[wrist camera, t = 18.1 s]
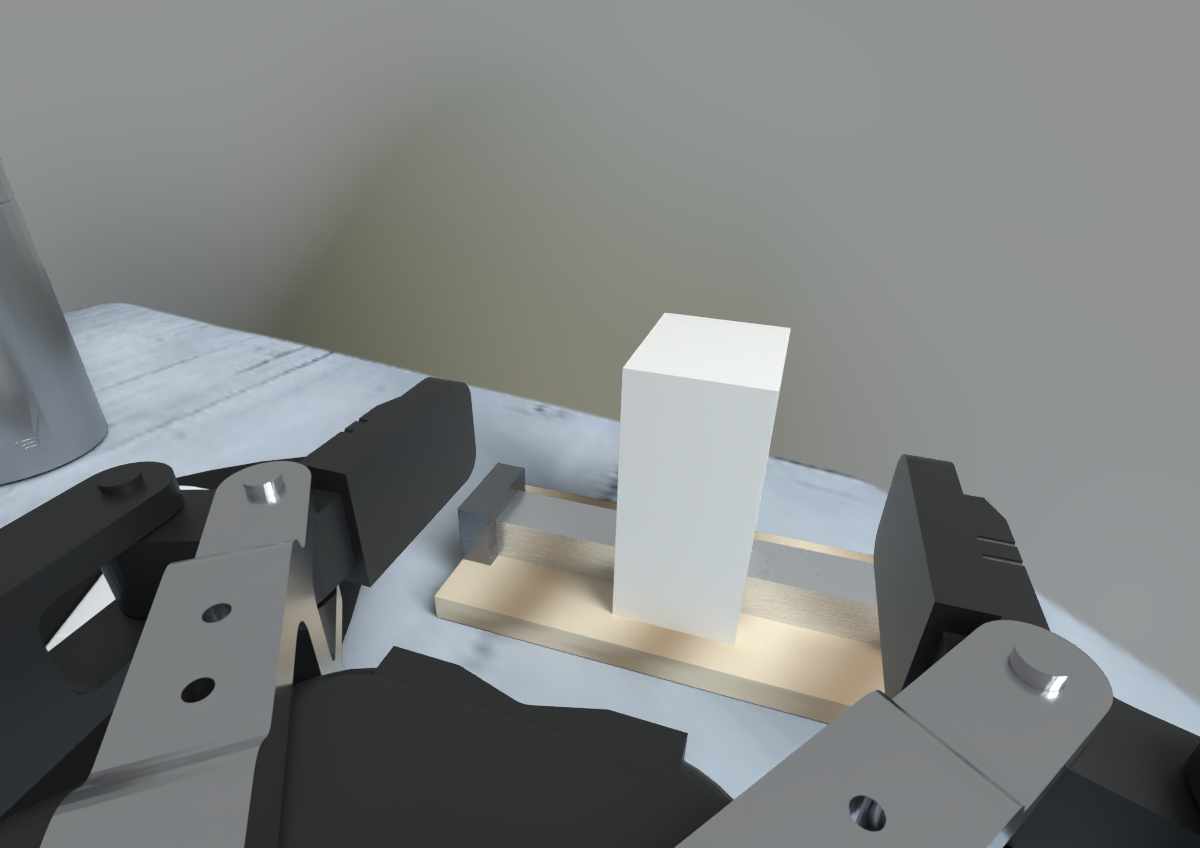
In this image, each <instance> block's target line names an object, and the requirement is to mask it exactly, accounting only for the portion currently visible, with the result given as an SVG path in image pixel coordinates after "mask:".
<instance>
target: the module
mask: <svg viewBox="0 0 1200 848" xmlns="http://www.w3.org/2000/svg"><path fill="white" fill-rule="evenodd" d="M789 334H790V328H784V327H776V326H768V325H760V324H752V323H744V322H735V321H728V320H720V319H711V318H703V317H695V316H687V315H679V314H671V313H664V315H663V316H662V317H661V319H660V320H659V321H658V323H657V324H656V325H655V327H654V328H653V329H652V331H651V332H650V333H649V334H648V336H647V337H646V338H645V340H644V341H643V342H642V344H641V345H640V346H639V347H638V349H637V350H636V352H635V353H634V354H633V355H632V357H631V358H630V359H629V361H628V362H627V363H626V365H625V366H624V367H623V376H622V402H621V423H620V446H619V470H618V493H617V517H616V540H615V564H614V587H613V611H612V614H614V615H618V616H622V617H625V618H629V619H633V620H637V621H641V622H645V623H648V624H652V625H656V626H660V627H664V628H668V629H672V630H675V631H679V632H683V633H687V634H691V635H695V636H698V637H702V638H706V639H710V640H714V641H718V642H721V643H725V644H729V645H733V646H735V641H736V635H737V629H738V624H739V618H740V612H741V607H742V601H743V595H744V589H745V584H746V578H747V572H748V567H749V561H750V556H751V550H752V545H753V539H754V534H755V528H756V523H757V517H758V511H759V506H760V500H761V494H762V489H763V483H764V477H765V471H766V466H767V460H768V454H769V449H770V442H771V437H772V431H773V426H774V420H775V414H776V408H777V403H778V397H779V392H780V386H781V380H782V374H783V369H784V363H785V357H786V351H787V346H788V340H789Z"/></svg>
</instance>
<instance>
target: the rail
mask: <svg viewBox="0 0 1200 848" xmlns="http://www.w3.org/2000/svg"><path fill="white" fill-rule="evenodd" d="M458 517H459V527H460V536H461V546H462V555H463V559H465V560H469V561H473V562H477V563H481V564H485V565H490V566H491V565H492V563H493V562H494V561H495V559H496V558H497V556H498V555H499V556H503V557H507V558H511V559H515V560H520V561H524V562H528V563H532V564H536V565H541V566H545V567H549V568H553V569H558V570H562V571H566V572H570V573H574V574H579V575H583V576H587V577H591V578H595V579H600V580H604V581H608V582H612V583H614V564H615V540H616V517H617V510H612V509H607V508H602V507H597V506H593V505H588V504H583V503H578V502H573V501H568V500H564V499H559V498H554V497H549V496H544V495H539V494H534V493H530V492H525V469H524V468H521V467H516V466H511V465H506V464H501V463H498V464H497V465H496V466H495V467H494V468H493V469H492V470H491V472H490V473H489V474H488V475H487V476H486V477H485V478H484V480H483V481H482V482H481V483H480V484H479V485H478V486H477V488H476V489H475V490H474V491H473V492H472V493H471V494H470V496H469V497H468V498H467V499H466V500H465V501H464V502H463V503H462V505H461V506H460V507H459V508H458ZM740 613H743V614H747V615H751V616H755V617H760V618H764V619H768V620H772V621H776V622H781V623H785V624H789V625H793V626H798V627H802V628H806V629H810V630H814V631H819V632H823V633H827V634H831V635H835V636H840V637H844V638H848V639H852V640H856V641H861V642H865V643H869V644H873V645H878V646H881V643H880V632H879V620H878V609H877V597H876V586H875V574H874V563H869V562H864V561H859V560H854V559H850V558H845V557H840V556H835V555H830V554H825V553H820V552H816V551H811V550H806V549H801V548H796V547H791V546H787V545H782V544H777V543H772V542H767V541H762V540H757V539H753V545H752V550H751V556H750V561H749V567H748V572H747V578H746V584H745V589H744V595H743V601H742V607H741V612H740Z"/></svg>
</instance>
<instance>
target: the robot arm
mask: <svg viewBox="0 0 1200 848" xmlns="http://www.w3.org/2000/svg"><path fill="white" fill-rule="evenodd" d="M107 429H108V425H107V423H106V420H105V418H104V415H103V413H102V410H101V408H100V405H99V403H98V400H97V398H96V395H95V393H94V390H93V388H92V385H91V383H90V380H89V378H88V375H87V373H86V370H85V367H84V365H83V362H82V360H81V357H80V355H79V352H78V350H77V347H76V345H75V342H74V340H73V337H72V335H71V332H70V330H69V327H68V325H67V322H66V320H65V317H64V315H63V312H62V310H61V307H60V305H59V303H58V300H57V298H56V295H55V293H54V290H53V288H52V285H51V283H50V280H49V278H48V275H47V273H46V270H45V268H44V265H43V263H42V260H41V258H40V255H39V253H38V250H37V248H36V245H35V243H34V240H33V238H32V235H31V233H30V230H29V228H28V226H27V223H26V220H25V218H24V215H23V213H22V211H21V208H20V206H19V203H18V200H17V198H16V197H15V194H14V191H13V189H12V186H11V184H10V181H9V179H8V176H7V174H6V171H5V169H4V166H3V164H2V162H1V159H0V484H5V483H9V482H13V481H17V480H21V479H25V478H28V477H31V476H34V475H37V474H40V473H43V472H46V471H49V470H51V469H54V468H56V467H58V466H61V465H63V464H66V463H68V462H70V461H72V460H74V459H76V458H78V457H79V456H81V455H83V454H85V453H86V452H88V451H89V450H91V449H92V448H94V447H95V446H96V445H97V444H98V443H99V442H100V441H101V440H103V438H104V437H105V435H106V433H107ZM475 458H476V446H475V436H474V425H473V414H472V403H471V394H470V390H469V388H468V386H467V385H466V384H465V383H463V382H457V381H451V380H445V379H439V378H433V377H428V378H426V379H424V380H423V381H421V382H420V383H418V384H417V385H416V386H414V387H413V388H412V389H410V390H409V391H408V392H406V393H405V394H404V395H402V396H401V397H398V398H395V399H393V400H390V401H388V402H385V403H383V404H380V405H378V406H376V407H375V408H373V409H372V410H370V411H369V412H368V413H366V414H365V415H363V416H362V417H361V418H359V422H358V421H355V422H354V423H352V424H351V425H350V426H348V427H347V428H345V431H344V432H340V433H338V434H337V435H336V436H334V437H333V438H331V439H330V440H329V441H327V442H326V443H325V444H323V445H322V446H320V447H319V448H318V449H316V450H315V451H313V452H312V453H311V454H309V455H308V456H306V457H305V458H304V459H302V460H301V461H300V462H298V463H296V462H291V461H274V462H266V463H261V464H257V465H254V466H251V467H248V468H245V469H243V470H240V471H238V472H236V473H235V474H233V475H231V476H230V477H228V478H227V479H225V480H224V481H223V482H222V483H221V484H220V485H219V487H218V488H217V489H207V490H180V488H179V485H178V482H177V480H176V477H175V474H174V472H173V470H172V468H171V467H170V466H168V465H166V464H164V463H160V462H136V463H129V464H125V465H120V466H117V467H113V468H110V469H108V470H105V471H102V472H100V473H98V474H95V475H93V476H91V477H89V478H88V479H86V480H84V481H82V482H81V483H79V484H77V485H75V486H74V487H72V488H70V489H68V490H67V491H65V492H63V493H62V494H60V495H58V496H56V497H55V498H53V499H51V500H49V501H48V502H46V503H44V504H42V505H41V506H39V507H37V508H35V509H34V510H32V511H30V512H28V513H27V514H25V515H23V516H22V517H20V518H18V519H16V520H15V521H13V522H11V523H9V524H8V525H6V526H4V527H2V528H1V529H0V817H1V816H2V815H3V814H4V813H5V812H6V811H7V810H8V809H10V808H11V807H12V806H13V805H14V804H15V803H16V802H17V801H18V800H19V799H20V798H21V797H22V796H23V795H24V794H25V793H26V792H28V791H29V790H30V789H31V788H32V787H33V786H34V785H35V784H36V783H37V782H38V781H39V780H40V779H41V778H42V777H43V776H44V775H46V774H47V773H48V772H49V771H50V770H51V769H52V768H53V767H54V766H55V765H56V764H57V763H58V762H59V761H60V760H61V759H63V758H64V757H65V756H66V755H67V754H68V753H69V752H70V751H71V750H72V749H73V748H74V747H75V746H76V745H77V744H78V743H79V742H81V741H82V740H83V739H84V738H85V737H86V736H87V735H88V734H89V733H90V732H91V731H92V730H93V729H94V728H95V727H96V726H97V725H99V724H100V723H101V722H102V721H103V720H104V719H105V718H106V717H107V716H108V715H109V714H110V713H111V712H112V711H113V710H114V711H113V714H112V716H111V719H110V722H109V725H108V727H107V730H106V733H105V736H104V738H103V741H102V744H101V747H100V749H99V752H98V755H97V757H96V760H95V763H94V766H93V768H92V771H91V773H90V775H89V777H88V779H87V780H86V781H85V782H84V783H81V784H79V785H77V786H75V787H73V788H71V789H68V790H66V791H64V792H62V793H60V794H58V795H56V796H53V797H51V798H49V799H47V800H45V801H43V802H40V803H38V804H36V805H34V806H32V807H30V808H28V809H25V810H23V811H21V812H19V813H17V814H15V815H12V816H10V817H8V818H6V819H4V820H2V821H0V848H1200V736H1197V735H1195V734H1193V733H1191V732H1188V731H1186V730H1184V729H1182V728H1179V727H1177V726H1175V725H1173V724H1170V723H1168V722H1166V721H1164V720H1161V719H1159V718H1157V717H1155V716H1152V715H1150V714H1148V713H1146V712H1143V711H1141V710H1139V709H1137V708H1134V707H1132V706H1130V705H1128V704H1126V703H1124V702H1122V701H1120V700H1118V699H1116V698H1115V697H1113V693H1112V688H1111V685H1110V683H1109V681H1108V679H1107V677H1106V676H1105V674H1104V672H1103V671H1102V670H1101V669H1100V667H1099V666H1098V665H1097V664H1096V663H1095V662H1094V661H1093V660H1092V659H1091V658H1090V657H1089V656H1088V655H1087V654H1086V653H1085V652H1083V651H1082V650H1081V649H1079V648H1078V647H1077V646H1075V645H1074V644H1072V643H1071V642H1069V641H1068V640H1066V639H1064V638H1062V637H1061V636H1059V635H1057V634H1055V633H1053V632H1051V631H1050V629H1049V627H1048V624H1047V622H1046V619H1045V617H1044V614H1043V612H1042V609H1041V606H1040V604H1039V601H1038V599H1037V596H1036V594H1035V591H1034V589H1033V586H1032V584H1031V581H1030V579H1029V576H1028V574H1027V571H1026V569H1025V567H1024V566H1022V562H1023V561H1022V559H1021V556H1020V554H1019V551H1018V549H1017V547H1015V546H1014V545H1015V541H1014V538H1013V536H1012V533H1011V531H1010V528H1009V526H1008V523H1007V521H1006V519H1005V518H1004V517H1003V516H1002V515H1001V514H1000V513H999V512H997V510H996V509H995V508H994V507H992V505H990V504H989V503H988V502H987V501H986V500H985V499H984V498H981V497H975V496H970V495H964V494H963V492H962V489H961V485H960V482H959V479H958V476H957V473H956V470H955V467H954V464H953V463H952V462H948V461H942V460H935V459H930V458H923V457H918V456H911V455H905V454H903V455H902V456H901V457H900V459H899V461H898V464H897V467H896V470H895V473H894V476H893V480H892V483H891V487H890V490H889V493H888V497H887V500H886V503H885V507H884V510H883V514H882V517H881V520H880V524H879V527H878V531H877V535H876V541H875V548H874V574H875V586H876V597H877V609H878V620H879V632H880V643H881V654H882V666H883V677H884V689H885V693H883V692H882V691H880V690H875V691H872V692H870V693H868V694H867V695H865V696H864V697H862V698H861V699H860V700H858V701H857V702H856V703H855V704H853V705H852V706H851V707H850V708H848V709H847V710H846V711H845V712H843V713H842V714H841V715H840V716H838V717H837V718H836V719H835V720H833V721H832V722H831V723H830V724H828V725H827V726H826V727H825V728H823V729H822V730H821V731H820V732H818V733H817V734H816V735H815V736H813V737H812V738H811V739H810V740H808V741H807V742H806V743H805V744H803V745H802V746H801V747H800V748H798V749H797V750H796V751H795V752H793V753H792V754H791V755H790V756H788V757H787V758H786V759H785V760H783V761H782V762H781V763H780V764H778V765H777V766H776V767H775V768H773V769H772V770H771V771H770V772H768V773H767V774H766V775H765V776H763V777H762V778H761V779H760V780H758V781H757V782H756V783H755V784H753V785H752V786H751V787H750V788H748V789H747V790H746V791H745V792H743V793H742V794H741V795H740V796H738V797H737V798H736V799H735V800H734V799H733V798H732V797H730V796H729V795H728V794H727V793H726V792H725V791H724V790H723V789H722V788H721V787H720V786H719V785H718V784H717V783H716V782H714V781H713V780H712V779H710V778H709V777H708V776H706V775H705V774H704V773H703V772H701V771H700V770H699V769H697V768H695V767H694V766H692V765H691V764H689V763H687V762H686V761H684V757H685V750H686V742H687V735H688V733H685V732H682V731H678V730H675V729H671V728H668V727H665V726H661V725H658V724H655V723H651V722H648V721H645V720H641V719H638V718H635V717H631V716H628V715H624V714H621V713H618V712H614V711H611V710H606V709H588V708H570V707H553V706H535V705H526V704H522V703H519V702H517V701H515V700H514V699H512V698H511V697H509V696H507V695H506V694H504V693H503V692H501V691H499V690H498V689H496V688H495V687H493V686H491V685H490V684H488V683H487V682H485V681H483V680H482V679H480V678H479V677H477V676H475V675H474V674H472V673H471V672H469V671H467V670H466V669H464V668H463V667H461V666H459V665H456V664H453V663H450V662H446V661H443V660H440V659H436V658H433V657H429V656H426V655H423V654H419V653H416V652H413V651H409V650H406V649H403V648H399V647H396V646H393V648H392V649H391V650H390V652H389V653H388V654H387V656H386V657H385V658H384V659H383V661H382V662H381V663H380V665H379V666H378V667H377V668H363V669H350V670H344V671H342V597H341V593H340V589H339V584H340V583H341V581H342V580H346V581H350V582H353V583H357V584H361V585H364V586H368V587H371V586H372V585H373V584H374V583H375V581H376V580H377V579H378V578H379V577H380V576H381V575H382V574H383V573H384V572H385V570H386V569H387V568H388V567H389V566H390V565H391V564H392V563H393V562H394V560H395V559H396V558H397V557H398V556H399V555H400V554H401V553H402V552H403V551H404V549H405V548H406V547H407V546H408V545H409V544H410V543H411V542H412V541H413V540H414V538H415V537H416V536H417V535H418V534H419V533H420V532H421V531H422V530H423V529H424V527H425V526H426V525H427V524H428V523H429V522H430V521H431V520H432V519H433V517H434V516H435V515H436V514H437V513H438V512H439V511H440V510H441V509H442V508H443V506H444V505H445V504H446V503H447V502H448V501H449V500H450V499H451V498H452V497H453V495H454V494H455V493H456V492H457V491H458V490H459V489H460V488H461V487H462V485H463V484H464V483H465V482H466V481H467V480H468V478H469V477H470V475H471V473H472V470H473V467H474V464H475ZM100 568H101V571H102V573H103V575H104V577H105V579H106V581H107V583H108V585H109V587H110V589H111V591H112V593H113V595H114V597H115V600H114V601H113V602H111V603H110V604H109V605H107V606H106V607H105V608H104V609H102V610H101V611H100V612H98V613H97V614H96V615H95V616H93V617H92V618H91V619H89V620H88V621H87V622H86V623H84V624H83V625H82V626H80V627H79V628H78V629H77V630H75V631H74V632H73V633H71V634H70V635H69V636H68V637H66V638H65V639H64V640H63V641H61V642H60V643H59V644H57V645H56V646H55V647H54V648H52V649H51V650H50V651H47V649H46V647H45V645H44V644H43V642H42V640H41V639H40V636H39V632H38V629H39V623H40V620H41V617H42V615H43V614H44V612H45V611H46V609H47V608H48V607H49V606H50V605H51V604H52V603H53V602H54V601H55V600H56V599H58V598H59V597H61V596H62V595H63V594H65V593H66V592H68V591H69V590H70V589H72V588H73V587H75V586H76V585H77V584H79V583H80V582H82V581H83V580H84V579H86V578H87V577H89V576H90V575H91V574H93V573H94V572H96V571H97V570H98V569H100Z"/></svg>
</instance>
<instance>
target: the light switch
mask: <svg viewBox="0 0 1200 848" xmlns="http://www.w3.org/2000/svg"><path fill="white" fill-rule="evenodd" d="M304 458H305V457H300V458H291V459H281V460H272V461H262V462H256V463H251V464H245V465H239V466H233V467H227V468H222V469H216V470H210V471H206V472H201V473H197V474H192V475H188V476H183V477H179V478H176V480H177V482H178V485H179V488H180V490H207V489H217V488H218V487H219V485H220V484H221V483H222V482H223V481H224V480H225V479H227V478H228V477H230V476H231V475H233V474H235V473H236V472H238V471H240V470H243V469H245V468H248V467H251V466H254V465H257V464H261V463H266V462H274V461H291V462H296V463H298V462H300V461H301V460H302V459H304ZM360 587H361V584H357V583H353V582H350V581H346V580H342V581H341V583H340V584H339V589H340V593H341V597H342V643H343V640H344V637H345V634H346V632H347V629H348V626H349V623H350V620H351V618H352V614H353V611H354V607H355V604H356V600H357V597H358V594H359V590H360ZM114 600H115V597H114V595H113V593H112V591H111V589H110V587H109V585H108V583H107V581H106V579H105V577H104V575H103V573H102V571H101V568H100V569H98V570H97V571H96V572H94V573H93V574H91V575H90V576H89V577H87V578H86V579H84V580H83V581H82V582H80V583H79V584H77V585H76V586H75V587H73V588H72V589H70V590H69V591H68V592H66V593H65V594H63V595H62V596H61V597H59V598H58V599H56V600H55V601H54V602H53V603H52V604H51V605H50V606H49V607H48V608H47V609H46V611H45V612H44V614H43V615H42V617H41V620H40V623H39V629H38V632H39V636H40V639H41V640H42V642H43V644H44V645H45V647H46V649H47V651H50V650H51V649H52V648H54V647H55V646H56V645H57V644H59V643H60V642H61V641H63V640H64V639H65V638H66V637H68V636H69V635H70V634H71V633H73V632H74V631H75V630H77V629H78V628H79V627H80V626H82V625H83V624H84V623H86V622H87V621H88V620H89V619H91V618H92V617H93V616H95V615H96V614H97V613H98V612H100V611H101V610H102V609H104V608H105V607H106V606H107V605H109V604H110V603H111V602H113V601H114ZM113 711H114V710H113ZM113 711H112V712H111V713H110V714H109V715H108V716H107V717H106V718H105V719H104V720H103V721H102V722H101V723H100V724H99V725H97V726H96V727H95V728H94V729H93V730H92V731H91V732H90V733H89V734H88V735H87V736H86V737H85V738H84V739H83V740H82V741H81V742H79V743H78V744H77V745H76V746H75V747H74V748H73V749H72V750H71V751H70V752H69V753H68V754H67V755H66V756H65V757H64V758H63V759H61V760H60V761H59V762H58V763H57V764H56V765H55V766H54V767H53V768H52V769H51V770H50V771H49V772H48V773H47V774H46V775H44V776H43V777H42V778H41V779H40V780H39V781H38V782H37V783H36V784H35V785H34V786H33V787H32V788H31V789H30V790H29V791H28V792H26V793H25V794H24V795H23V796H22V797H21V798H20V799H19V800H18V801H17V802H16V803H15V804H14V805H13V806H12V807H11V808H10V809H8V810H7V811H6V812H5V813H4V814H3V815H2V816H1V817H0V821H2V820H4V819H6V818H8V817H10V816H12V815H15V814H17V813H19V812H21V811H23V810H25V809H28V808H30V807H32V806H34V805H36V804H38V803H40V802H43V801H45V800H47V799H49V798H51V797H53V796H56V795H58V794H60V793H62V792H64V791H66V790H68V789H71V788H73V787H75V786H77V785H79V784H81V783H84V782H85V781H86V780H87V779H88V777H89V775H90V773H91V771H92V768H93V766H94V763H95V760H96V757H97V755H98V752H99V749H100V747H101V744H102V741H103V738H104V736H105V733H106V730H107V727H108V725H109V722H110V719H111V716H112V714H113Z"/></svg>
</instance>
